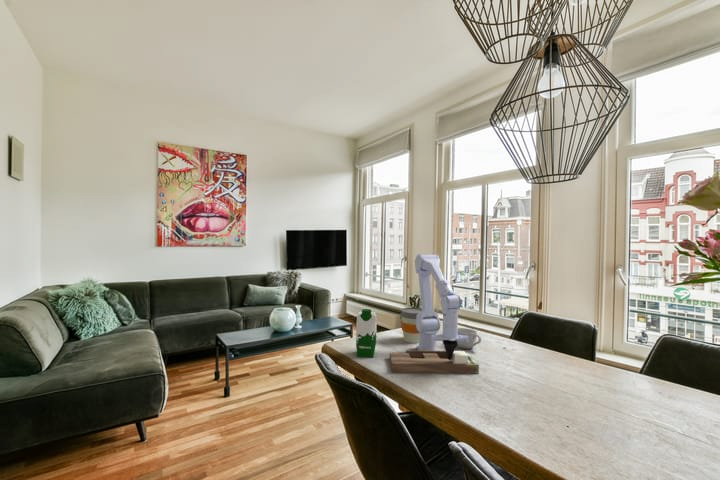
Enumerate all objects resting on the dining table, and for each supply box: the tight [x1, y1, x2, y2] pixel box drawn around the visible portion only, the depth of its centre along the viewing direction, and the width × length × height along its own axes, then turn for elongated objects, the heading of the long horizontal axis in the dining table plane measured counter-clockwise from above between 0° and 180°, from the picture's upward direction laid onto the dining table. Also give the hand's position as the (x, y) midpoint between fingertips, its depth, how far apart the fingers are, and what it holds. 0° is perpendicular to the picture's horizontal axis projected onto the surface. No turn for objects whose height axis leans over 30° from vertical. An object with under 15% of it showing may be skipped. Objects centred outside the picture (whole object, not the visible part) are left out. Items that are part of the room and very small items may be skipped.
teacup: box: [457, 327, 482, 350], centre depth 156 cm, size 14×11×8 cm
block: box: [451, 350, 468, 364], centre depth 131 cm, size 5×5×4 cm
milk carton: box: [355, 308, 378, 358], centre depth 145 cm, size 9×9×20 cm
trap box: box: [389, 349, 480, 374], centre depth 135 cm, size 15×34×3 cm, turn 91°
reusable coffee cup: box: [400, 307, 427, 344], centre depth 166 cm, size 13×12×15 cm
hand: (449, 358), depth 132 cm, fingers closed
